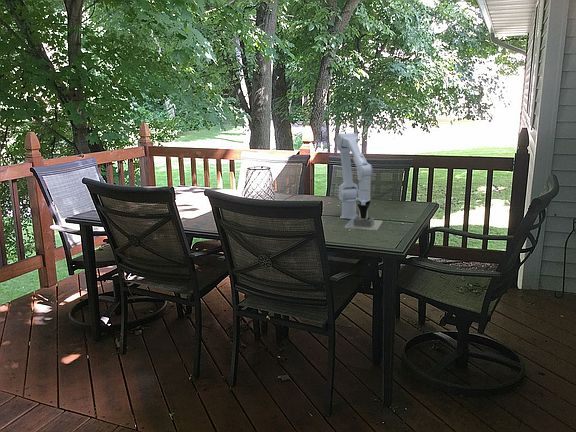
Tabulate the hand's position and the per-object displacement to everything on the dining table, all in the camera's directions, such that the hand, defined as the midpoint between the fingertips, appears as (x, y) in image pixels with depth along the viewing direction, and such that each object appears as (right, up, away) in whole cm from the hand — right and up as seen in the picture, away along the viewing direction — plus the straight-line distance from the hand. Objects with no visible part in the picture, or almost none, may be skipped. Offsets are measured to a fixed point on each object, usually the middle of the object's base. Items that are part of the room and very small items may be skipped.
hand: (364, 216), depth 252 cm
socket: (0, -4, +1) cm, 4 cm away
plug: (0, -3, +1) cm, 3 cm away
